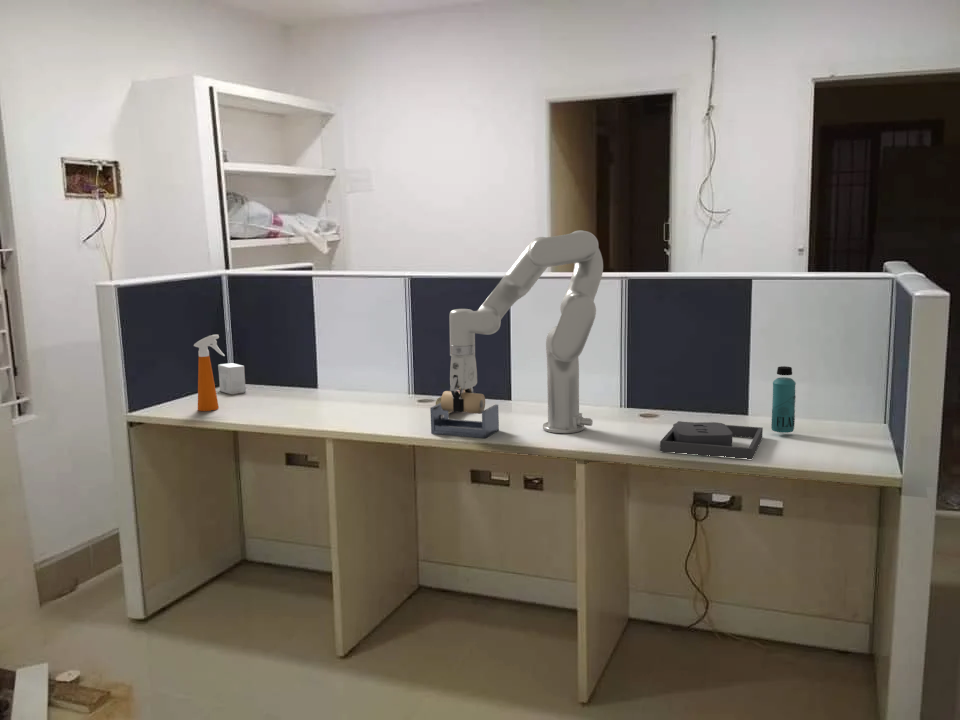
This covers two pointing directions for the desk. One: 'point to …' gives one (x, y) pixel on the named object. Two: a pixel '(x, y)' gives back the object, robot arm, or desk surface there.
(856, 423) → the desk surface
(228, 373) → the skincare box
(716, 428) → the streaming box
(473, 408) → the roll
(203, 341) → the spray bottle
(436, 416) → the holder
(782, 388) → the beverage bottle
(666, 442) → the speaker tray
